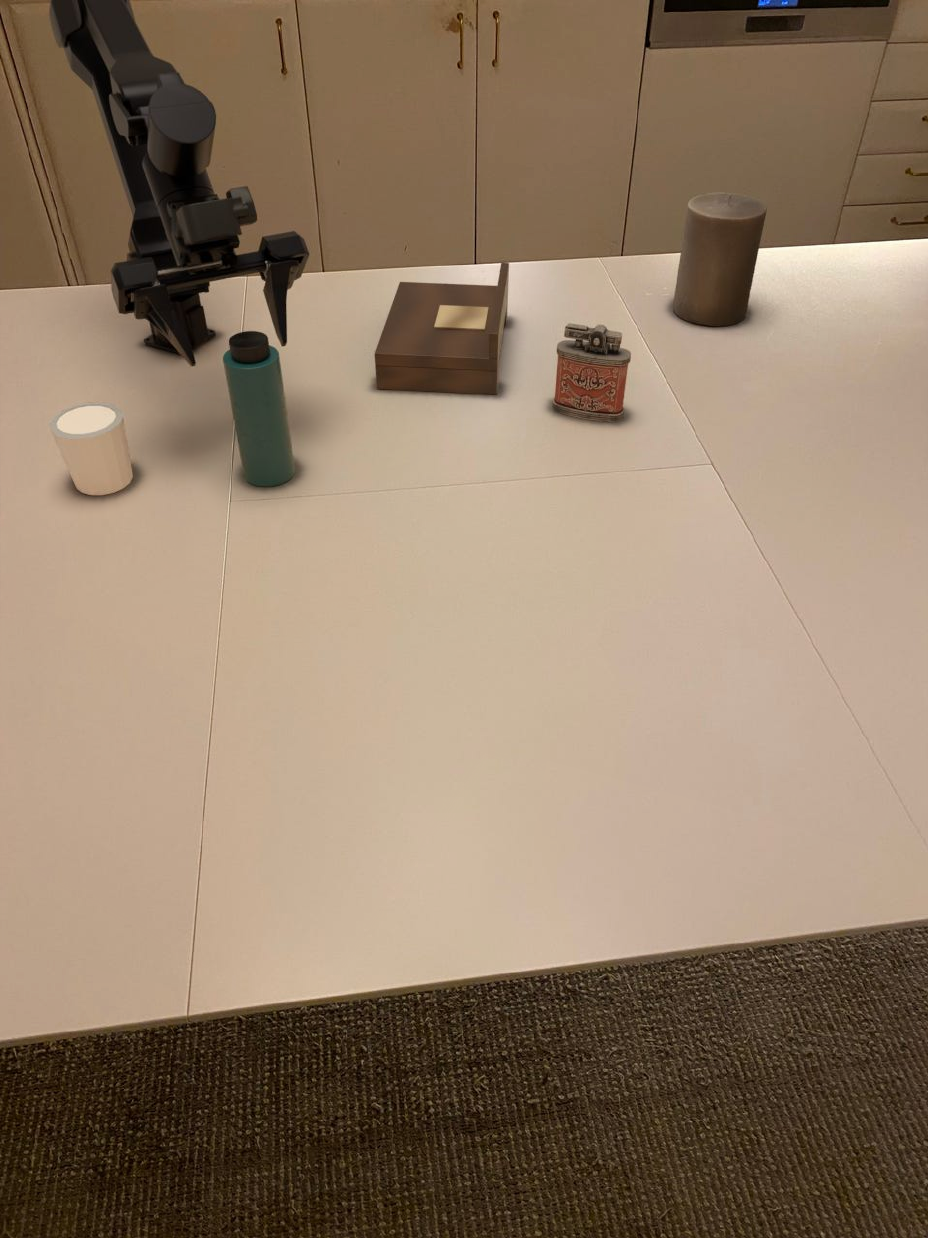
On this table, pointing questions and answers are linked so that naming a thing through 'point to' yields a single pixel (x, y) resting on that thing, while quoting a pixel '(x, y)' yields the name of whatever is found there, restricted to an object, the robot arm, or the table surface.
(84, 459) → the cream cylinder
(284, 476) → the water bottle
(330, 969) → the table surface
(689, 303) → the pillar candle
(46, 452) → the table surface
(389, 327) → the wooden box
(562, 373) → the lighter
